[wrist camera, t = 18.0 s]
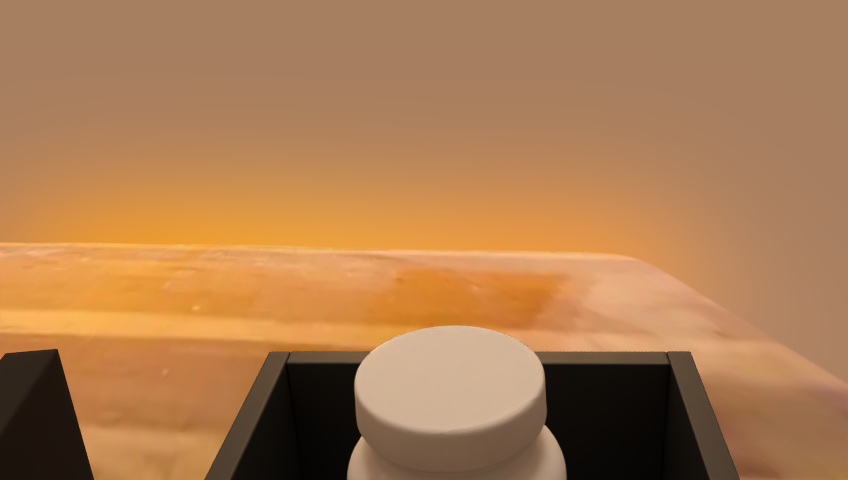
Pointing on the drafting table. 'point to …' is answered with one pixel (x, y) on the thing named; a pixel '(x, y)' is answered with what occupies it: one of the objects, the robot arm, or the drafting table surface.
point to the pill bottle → (453, 409)
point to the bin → (566, 419)
